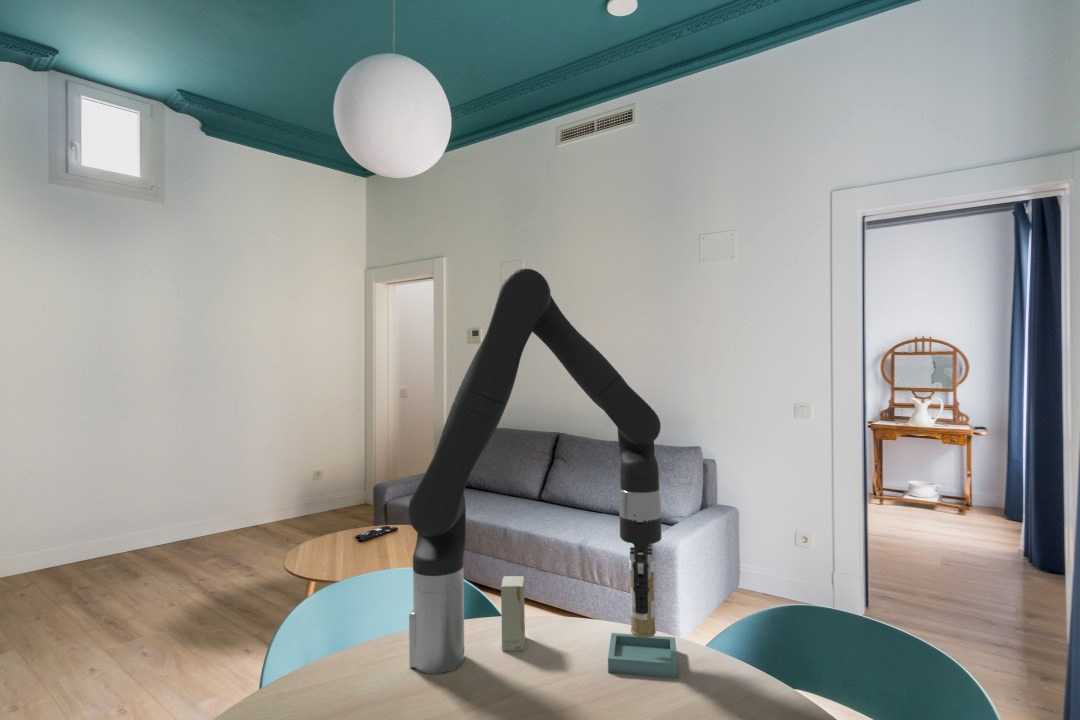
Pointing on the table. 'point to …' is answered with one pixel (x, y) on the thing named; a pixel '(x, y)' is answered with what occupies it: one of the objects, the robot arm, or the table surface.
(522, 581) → the skincare box
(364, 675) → the table surface
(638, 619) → the sprinkles bottle
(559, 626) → the table surface
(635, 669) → the tray
